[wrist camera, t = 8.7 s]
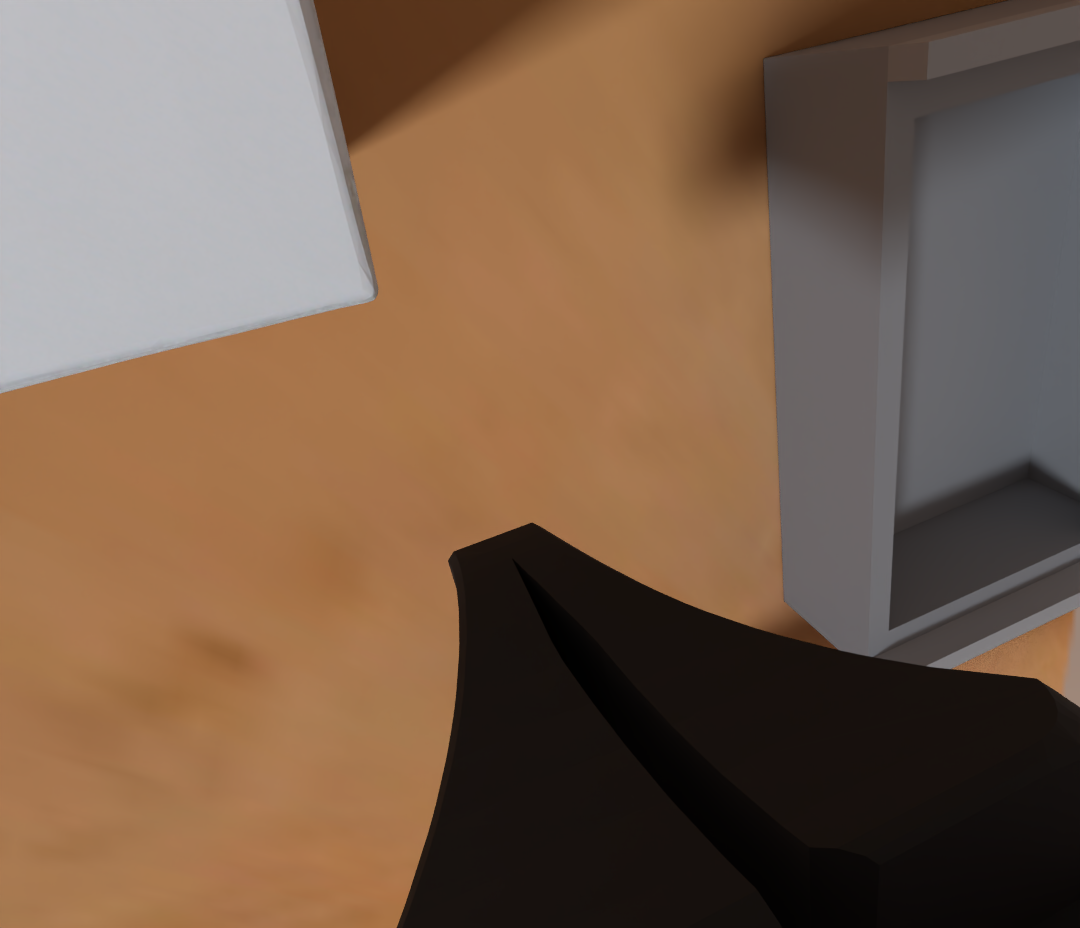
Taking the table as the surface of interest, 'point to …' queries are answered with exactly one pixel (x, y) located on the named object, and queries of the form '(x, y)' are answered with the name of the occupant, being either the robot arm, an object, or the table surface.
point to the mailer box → (929, 329)
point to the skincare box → (167, 179)
